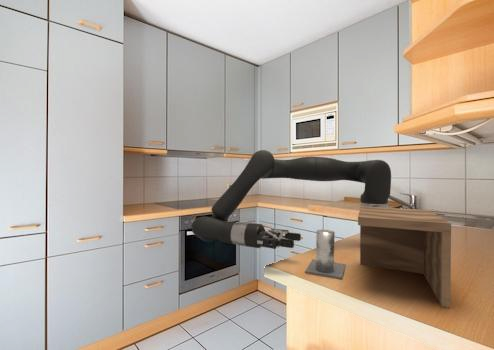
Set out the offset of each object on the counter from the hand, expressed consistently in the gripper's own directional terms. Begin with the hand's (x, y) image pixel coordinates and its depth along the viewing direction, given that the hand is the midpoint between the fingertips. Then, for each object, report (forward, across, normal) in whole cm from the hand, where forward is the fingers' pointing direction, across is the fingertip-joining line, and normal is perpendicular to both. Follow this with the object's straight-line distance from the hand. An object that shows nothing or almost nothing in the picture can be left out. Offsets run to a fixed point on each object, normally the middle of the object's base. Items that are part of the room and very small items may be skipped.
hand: (297, 240), depth 76 cm
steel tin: (+8, +1, +8) cm, 11 cm away
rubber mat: (+8, +3, +8) cm, 12 cm away
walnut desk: (+26, +2, +8) cm, 27 cm away
